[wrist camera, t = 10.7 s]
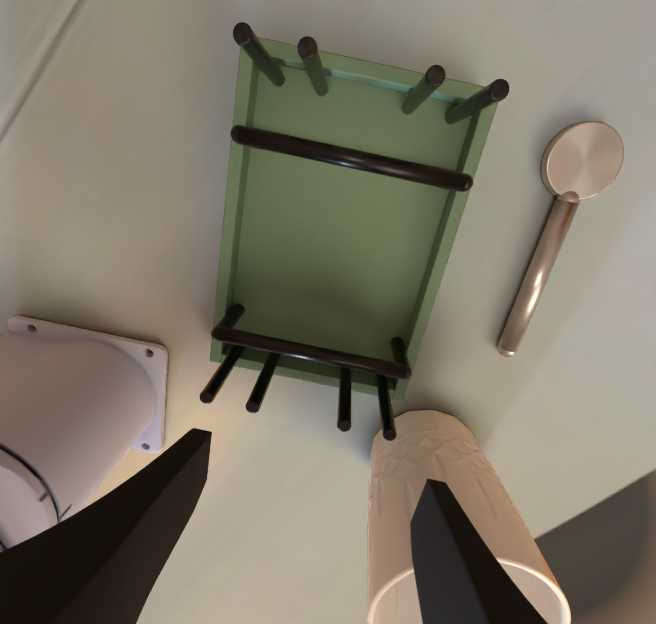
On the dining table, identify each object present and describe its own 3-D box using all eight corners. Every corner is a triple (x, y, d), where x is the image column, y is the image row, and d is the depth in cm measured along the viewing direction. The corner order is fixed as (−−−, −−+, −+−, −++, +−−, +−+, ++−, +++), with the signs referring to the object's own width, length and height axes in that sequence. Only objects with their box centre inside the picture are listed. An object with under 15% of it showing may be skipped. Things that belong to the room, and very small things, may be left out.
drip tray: (399, 384, 23) (402, 401, 21) (219, 347, 23) (209, 361, 21) (487, 98, 17) (502, 90, 16) (252, 46, 17) (241, 33, 15)
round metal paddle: (529, 357, 22) (537, 366, 21) (471, 346, 22) (477, 353, 21) (629, 130, 17) (644, 128, 16) (557, 115, 17) (569, 112, 16)
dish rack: (393, 375, 22) (407, 445, 16) (229, 341, 22) (185, 400, 16) (471, 113, 17) (530, 84, 11) (260, 67, 17) (215, 15, 11)
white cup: (449, 378, 22) (520, 527, 13) (505, 470, 24) (602, 654, 15) (338, 434, 24) (329, 599, 15) (398, 514, 26) (425, 704, 17)
